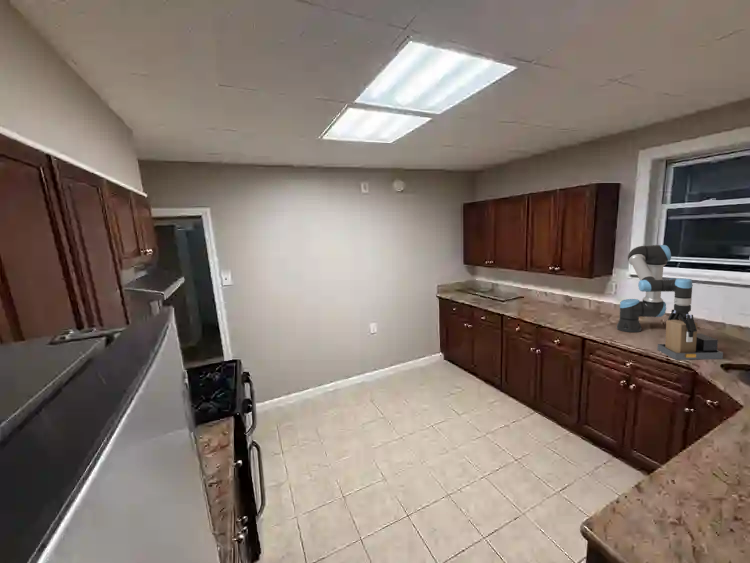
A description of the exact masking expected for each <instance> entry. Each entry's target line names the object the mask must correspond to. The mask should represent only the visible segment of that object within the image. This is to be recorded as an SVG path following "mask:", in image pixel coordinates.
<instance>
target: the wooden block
mask: <svg viewBox="0 0 750 563" xmlns="http://www.w3.org/2000/svg"><path fill="white" fill-rule="evenodd" d="M695 326H696V329H697V330H698V322H695ZM687 331H688V330H687V328H686V324H685V323H684V322H683V321H682V320H681V319H679V320H668V319H667V320H666V323H665V343H664V344H665V347H666V348H668V349H670V350H672V351H674V352H676V353H689V352H696V339H697V334H698V331H697V332H693V341H692V342H686V337H687Z"/></svg>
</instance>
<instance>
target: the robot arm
mask: <svg viewBox="0 0 750 563" xmlns="http://www.w3.org/2000/svg"><path fill="white" fill-rule="evenodd" d="M671 259H672V253H671V250H670V247H669V246H668V245H666V244H652V245H638V246H636V247H634V248H632V249H631V250H630V251H629V253H628V255H627V262H628V264H629V265H631V266H632V267H633V269H634V271H635V273H636V275H637V277H638V279H639V281H638V290H639V291H640V292H642V293H643V292H645V296H644V297H643V298H642V300H640V299H638V298H626V299H623V300H621V301H620V303H619V319H618V322H617V323H616V329H617V330H618V331H621V332H627V333H639V332H641V331H642V326H641V323H640V320H639V318H640V317H644V318H645V317H646V318H660V317H663V316H664V315H665V313H666V312H667V303H666V301H664V299H663V298H662V293H663V292H666V293H669V292H671V293H672V292H673V293H674V295H673V296H674V300H673V301H674V302H673V303H674V304H673V309H671V311H670V312H671V313H670V314H669V317H668V319H667V320H679V319H681V320H682V321H683V322H684V323H685V324H686V328H687V330H688V331H687V337H686V342H692V341H693V332H697V333H698V328H697V329H696V326H695V323H696V322H695V320H694V315H693V314H689V312H691V311H692V310H691V309H692V300H693V299H692V297H693V296H692V295H693V280H692V279H690V278H684V277H683V278H681V277H680V278H669V279H663V275H664V266H666V265H667V263H668V262H670V261H671Z"/></svg>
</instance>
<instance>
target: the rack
mask: <svg viewBox="0 0 750 563" xmlns="http://www.w3.org/2000/svg"><path fill="white" fill-rule="evenodd" d="M718 342H719V340H718V339H717V338H715V337H714V338H713V337H712V336H708V335H706V334H704V333H697V339H696V352H689V353H676V352H674V351H672V350H670V349H668V348H666V347H665V343H657V351H658V350H659V352H660V351H661V352H660V353H662V354H664V355H666V356H668V357H670V358H672V359H674V360H676V361H680V360H682V361H685V360H689V361H691V360H692V361H693V360H723V359H724V351H720V350H718V345H719V343H718Z"/></svg>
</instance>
